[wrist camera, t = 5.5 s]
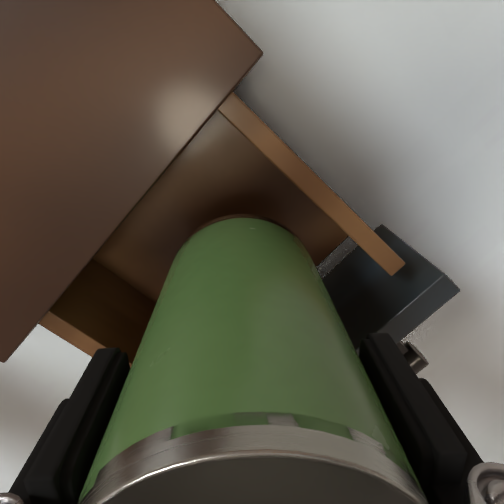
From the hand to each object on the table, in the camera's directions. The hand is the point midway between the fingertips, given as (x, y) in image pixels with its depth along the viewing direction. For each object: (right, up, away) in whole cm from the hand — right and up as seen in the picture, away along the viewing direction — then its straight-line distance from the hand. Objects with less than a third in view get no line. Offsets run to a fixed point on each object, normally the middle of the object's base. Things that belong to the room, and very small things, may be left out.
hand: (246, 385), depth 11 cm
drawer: (+1, +3, +12) cm, 12 cm away
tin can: (0, +2, +6) cm, 7 cm away
